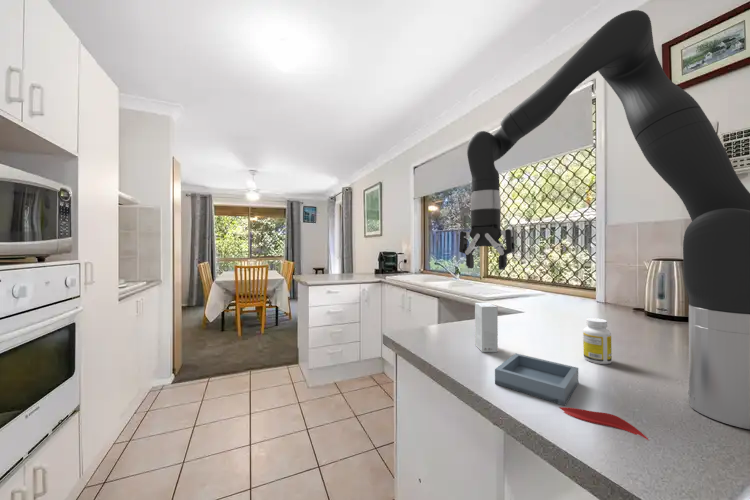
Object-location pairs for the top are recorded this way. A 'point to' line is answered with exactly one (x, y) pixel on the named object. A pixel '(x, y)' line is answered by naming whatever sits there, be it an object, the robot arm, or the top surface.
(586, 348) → the supplement bottle
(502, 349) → the top surface
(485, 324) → the skincare box
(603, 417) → the cayenne pepper
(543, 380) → the tray
